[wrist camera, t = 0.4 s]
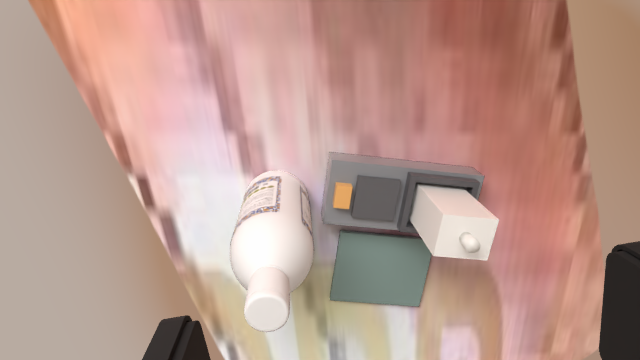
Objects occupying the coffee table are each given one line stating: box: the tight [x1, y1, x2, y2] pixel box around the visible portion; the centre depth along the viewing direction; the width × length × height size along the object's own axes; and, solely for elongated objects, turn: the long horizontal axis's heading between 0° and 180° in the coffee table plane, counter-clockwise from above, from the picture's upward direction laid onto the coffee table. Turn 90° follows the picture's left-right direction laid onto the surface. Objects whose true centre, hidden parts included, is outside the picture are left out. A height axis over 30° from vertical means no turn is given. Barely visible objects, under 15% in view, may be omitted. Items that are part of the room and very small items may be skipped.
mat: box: [330, 230, 432, 306], centre depth 49 cm, size 9×11×1 cm
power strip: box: [321, 152, 484, 233], centre depth 44 cm, size 7×16×4 cm, turn 83°
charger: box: [409, 183, 499, 261], centre depth 39 cm, size 4×5×10 cm
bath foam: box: [230, 170, 314, 332], centre depth 36 cm, size 7×7×20 cm
